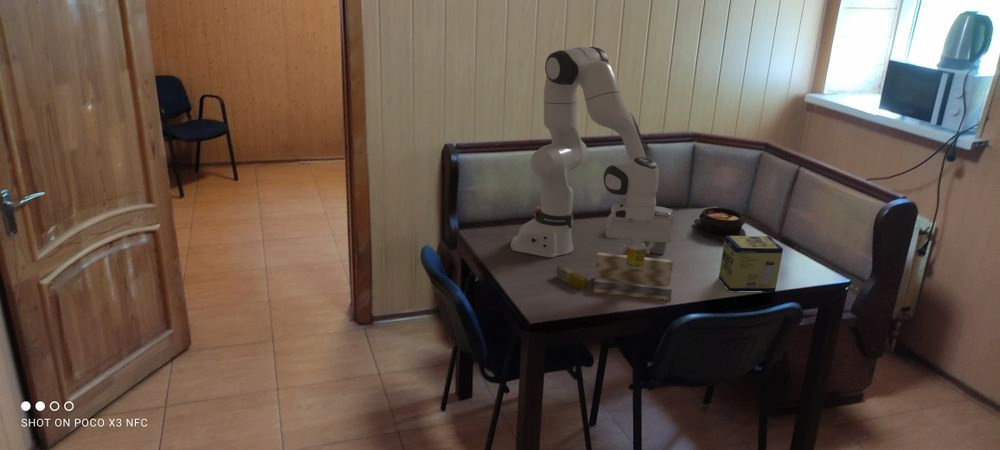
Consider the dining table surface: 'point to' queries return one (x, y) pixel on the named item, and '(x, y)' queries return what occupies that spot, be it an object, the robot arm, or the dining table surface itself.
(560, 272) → the medication box
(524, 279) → the dining table surface
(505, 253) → the dining table surface
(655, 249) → the skincare box
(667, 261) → the cleat board
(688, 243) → the dining table surface
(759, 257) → the protein box
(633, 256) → the supplement bottle
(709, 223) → the casserole
